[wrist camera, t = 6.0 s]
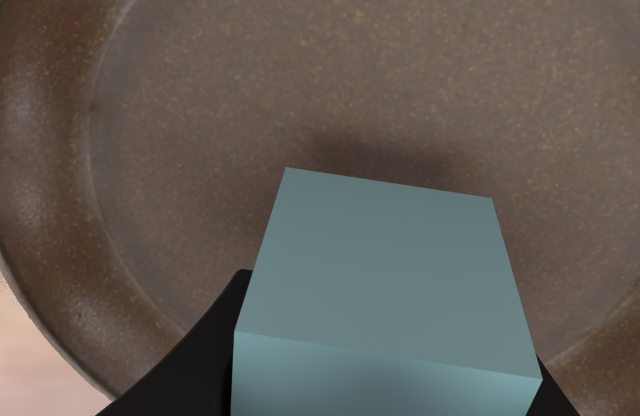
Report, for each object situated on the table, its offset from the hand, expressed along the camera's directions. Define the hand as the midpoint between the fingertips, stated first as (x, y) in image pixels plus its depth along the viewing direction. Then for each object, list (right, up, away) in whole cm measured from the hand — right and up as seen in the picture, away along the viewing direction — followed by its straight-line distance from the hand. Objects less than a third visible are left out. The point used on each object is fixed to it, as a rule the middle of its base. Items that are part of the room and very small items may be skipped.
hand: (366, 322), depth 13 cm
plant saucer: (+1, +3, +5) cm, 6 cm away
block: (0, +1, +1) cm, 2 cm away
